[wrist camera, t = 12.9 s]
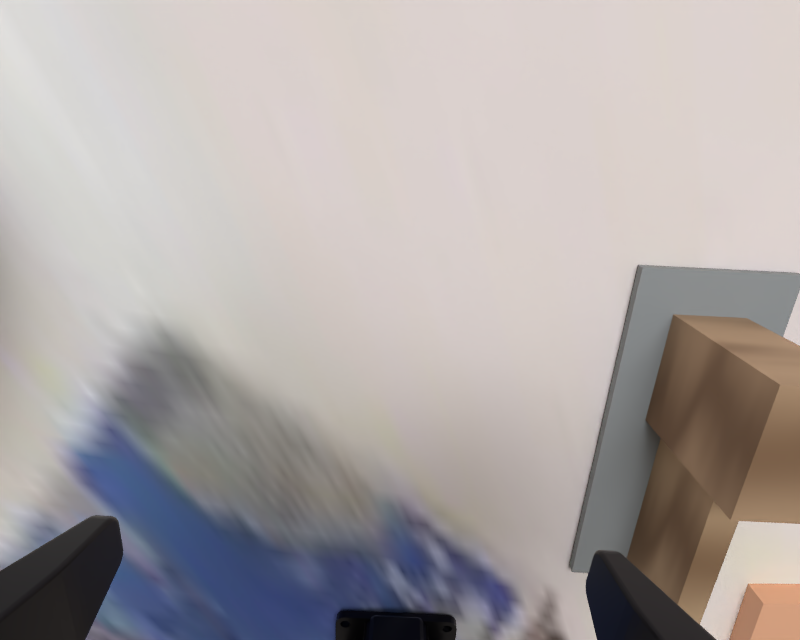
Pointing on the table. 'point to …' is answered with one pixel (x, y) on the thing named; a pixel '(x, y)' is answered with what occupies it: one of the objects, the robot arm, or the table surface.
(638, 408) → the mat
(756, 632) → the tile
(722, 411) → the brown stepped block
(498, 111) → the table surface
